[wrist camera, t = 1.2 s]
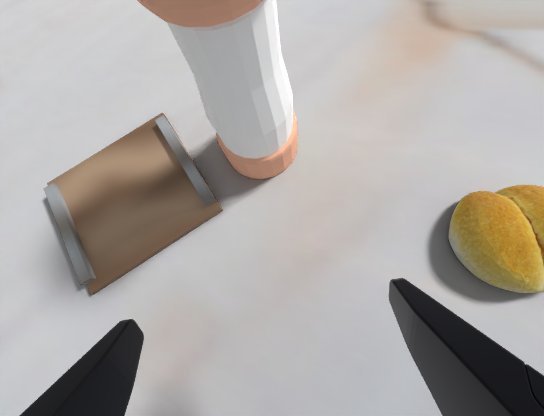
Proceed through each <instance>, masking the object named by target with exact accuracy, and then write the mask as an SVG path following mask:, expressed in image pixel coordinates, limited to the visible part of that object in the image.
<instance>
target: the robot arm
mask: <svg viewBox="0 0 544 416" xmlns="http://www.w3.org/2000/svg"><path fill="white" fill-rule="evenodd" d="M389 301H390V304H391V306H392V309H393V312H394V314H395V317H396V319H397V322H398V324H399V327H400V329H401V332H402V334H403V337H404V340H405V342H406V344H407V347H408V349H409V351H410V353H411V355H412V357H413V359H414V361H415V363H416V365H417V367H418V369H419V371H420V373H421V375H422V377H423V379H424V381H425V383H426V384H427V386H428V388H429V390H430V392H431V394H432V396H433V398H434V400H435V402H436V404H437V406H438V408H439V410H440V412H441V413H442V415H443V416H544V375H542V374H541V373H539V372H538V371H536V370H535V369H533V368H532V367H531V366H529V365H527V364H526V365H525V363H524V362H523V361H522V360H520V359H519V358H517V357H516V356H515V355H513V354H512V353H510V352H509V351H507V350H506V349H505V348H503V347H502V346H500V345H499V344H497V343H496V342H495V341H493V340H492V339H490V338H489V337H487V336H486V335H484V334H483V333H482V332H480V331H479V330H477V329H476V328H474V327H473V326H472V325H470V324H469V323H467V322H466V321H464V320H463V319H462V318H460V317H459V316H457V315H456V314H454V313H453V312H451V311H450V310H449V309H447V308H446V307H444V306H443V305H441V304H440V303H439V302H437V301H436V300H434V299H433V298H431V297H430V296H429V295H427V294H426V293H424V292H423V291H421V290H420V289H418V288H417V287H416V286H414V285H413V284H411V283H410V282H408V281H407V280H405V279H403V278H399V279H392V280H391V281H390V286H389ZM143 340H144V335H143V332H142V331H141V329H140V328H139V326H138V325H137V323H136V322H135V321H134V320H133V319H129V320H123V321H120V322H119V323H118V324H117V325H116V326H115V327H113V328H112V329H111V330H110V331H109V332H108V333H107V334H106V335H105V336H104V337H103V338H102V339H101V340H100V341H99V342H97V343H96V344H95V345H94V346H93V347H92V348H91V349H90V350H89V351H88V352H87V353H86V354H85V355H84V356H83V357H82V358H80V359H79V360H78V361H77V362H76V363H75V364H74V365H73V366H72V367H71V368H70V369H69V370H68V371H67V372H66V373H65V374H63V375H62V376H61V377H60V378H59V379H58V380H57V381H56V382H55V383H54V384H53V385H52V386H51V387H50V388H49V389H48V390H46V391H45V392H44V393H43V394H42V395H41V396H40V397H39V398H38V399H37V400H36V401H35V402H34V403H33V404H32V405H30V406H29V407H28V408H27V409H26V410H25V411H24V412H23V413H22V414H21V415H20V416H124V415H125V412H126V409H127V405H128V402H129V399H130V396H131V393H132V389H133V386H134V382H135V377H136V373H137V368H138V363H139V359H140V354H141V350H142V345H143Z"/></svg>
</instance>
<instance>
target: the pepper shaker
mask: <svg viewBox="0 0 544 416" xmlns="http://www.w3.org/2000/svg"><path fill="white" fill-rule="evenodd" d="M138 1H139V2H140V3H141V4H142V5H143V6H144V7H146V8H147V9H148V10H150V11H151V12H152V13H154V14H155V15H157V16H158V17H160V18H161V19H163V20H164V21H165V22H167V23H168V25H169V27H170V29H171V31H172V33H173V35H174V37H175V39H176V41H177V43H178V45H179V47H180V49H181V51H182V53H183V55H184V57H185V59H186V61H187V62H188V64H189V66H190V68H191V70H192V72H193V74H194V77H195V80H196V83H197V87H198V90H199V93H200V96H201V99H202V103H203V106H204V109H205V112H206V115H207V117H208V119H209V121H210V122H211V124H212V126H213V127H214V129H215V130H216V134H217V140H218V143H219V145H220V147H221V148H222V150H223V152H224V153H225V155H226V157H227V158H228V160H229V162H230V163H231V165H232V167H233V168H234V169H235V170H237V171H238V172H239V173H240V174H242V175H244V176H247V177H249V178H254V179H265V178H269V177H274V176H276V175H278V174H279V173H281V172H283V171H284V170H286V168H287V167H288V166H289V165H290V164H291V163H292V162H293V160H294V157H295V155H296V153H297V146H298V122H297V119H296V115H295V112H294V110H293V93H292V90H291V86H290V82H289V79H288V75H287V71H286V68H285V64H284V60H283V57H282V53H281V46H280V35H279V25H278V14H277V4H276V0H138Z"/></svg>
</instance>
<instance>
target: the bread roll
mask: <svg viewBox="0 0 544 416" xmlns="http://www.w3.org/2000/svg"><path fill="white" fill-rule="evenodd" d="M448 237H449V241H450V244H451V247H452V249H453V251H454V253H455V254H456V256H457V258H458V259H459V260H460V262H461V263H462V264H463V265H464V266H465V267H466V268H467V269H468V270H469V271H470V272H471V273H472V274H473V275H475V276H476V277H478V278H479V279H481V280H482V281H484V282H486V283H488V284H490V285H492V286H494V287H498V288H501V289H505V290H509V291H512V292H518V293H537V292H541V291H544V187H541V186H535V185H517V186H512V187H507V188H504V189H502V190H499V191H497V192H495V193H492V192H487V191H478V192H473V193H470V194H468V195H466V196H465V197H463V198H462V199H461V200H460V202H459V203H458V204H457V206H456V208H455V210H454V212H453V215H452V218H451V222H450V226H449V236H448Z"/></svg>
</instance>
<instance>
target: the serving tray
mask: <svg viewBox="0 0 544 416" xmlns="http://www.w3.org/2000/svg"><path fill="white" fill-rule="evenodd" d="M47 184H48V186H47V187H45V188H44V191H45V194H46V196H47V199H48V201H49V204H50V207H51V209H52V212H53V215H54V217H55V220H56V222H57V225H58V228H59V230H60V233H61V235H62V238H63V241H64V243H65V246H66V249H67V251H68V254H69V256H70V259H71V262H72V264H73V267H74V269H75V272H76V275H77V277H78V280H79V282H80V285H84V284H87V287H88V289H89V292H90V294H95V293H97V292H98V291H100V290H101V289H103V288H104V287H106V286H107V285H109V284H111V283H112V282H114V281H115V280H117V279H118V278H120V277H121V276H123V275H124V274H126V273H127V272H129V271H131V270H132V269H134V268H135V267H137V266H138V265H140V264H141V263H143V262H144V261H146V260H147V259H149V258H151V257H152V256H154V255H155V254H157V253H158V252H160V251H161V250H163V249H164V248H166V247H167V246H169V245H171V244H172V243H174V242H175V241H177V240H178V239H180V238H181V237H183V236H184V235H186V234H188V233H189V232H191V231H192V230H194V229H195V228H197V227H198V226H200V225H201V224H203V223H204V222H206V221H208V220H209V219H211V218H212V217H214V216H215V215H217V214H218V213H220V212H221V211H223V209H222V208H221V206H220V204H219V203H218V201H217V200H216V198H215V196H214V195H213V193H212V191H211V190H210V188H209V186H208V185H207V183H206V182H205V180H204V178H203V177H202V175H201V173H200V172H199V170H198V169H197V167H196V165H195V164H194V162H193V160H192V159H191V157H190V155H189V154H188V152H187V151H186V149H185V147H184V146H183V144H182V142H181V141H180V139H179V138H178V136H177V134H176V133H175V131H174V129H173V128H172V126H171V125H170V123H169V121H168V120H167V118H166V116H165V115H164V114H163V113H161V114H159V115H158V116H156V117H155V118H153V119H151V120H150V121H148V122H146V123H145V124H143V125H142V126H140V127H138V128H137V129H135V130H133V131H132V132H130V133H129V134H127V135H125V136H124V137H122V138H120V139H119V140H117V141H115V142H114V143H112V144H111V145H109V146H107V147H106V148H104V149H102V150H101V151H99V152H98V153H96V154H94V155H93V156H91V157H89V158H88V159H86V160H85V161H83V162H81V163H80V164H78V165H76V166H75V167H73V168H72V169H70V170H68V171H67V172H65V173H63V174H62V175H60V176H59V177H57V178H55V179H54V180H52V181H50V182H49V183H47Z"/></svg>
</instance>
